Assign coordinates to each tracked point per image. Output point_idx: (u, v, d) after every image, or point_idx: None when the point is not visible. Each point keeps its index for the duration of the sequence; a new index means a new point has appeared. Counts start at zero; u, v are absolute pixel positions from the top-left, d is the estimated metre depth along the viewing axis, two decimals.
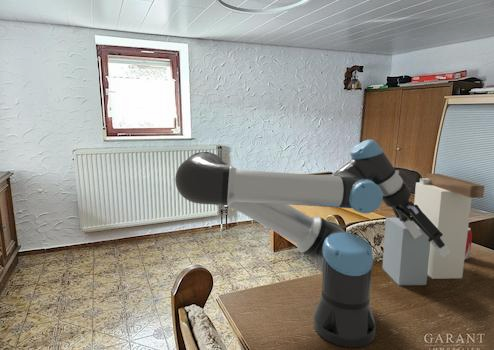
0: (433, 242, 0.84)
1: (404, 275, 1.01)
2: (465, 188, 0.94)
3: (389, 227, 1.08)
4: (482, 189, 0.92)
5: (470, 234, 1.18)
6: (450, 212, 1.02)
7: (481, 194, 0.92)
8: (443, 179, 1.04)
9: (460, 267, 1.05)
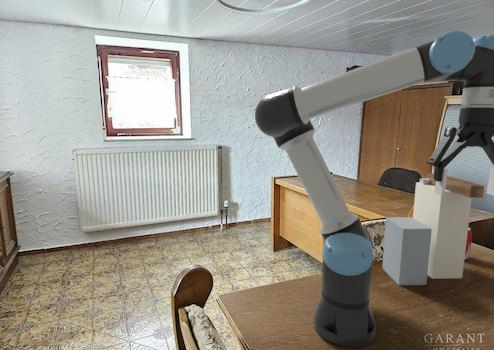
0: None
1: (404, 275, 1.01)
2: (465, 188, 0.94)
3: (389, 227, 1.08)
4: (482, 189, 0.92)
5: (470, 234, 1.18)
6: (450, 212, 1.02)
7: (481, 194, 0.92)
8: None
9: (460, 267, 1.05)
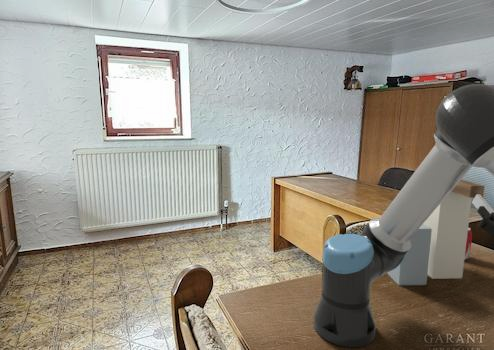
0: (489, 211, 0.72)
1: (404, 275, 1.01)
2: (465, 188, 0.94)
3: None
4: (482, 189, 0.92)
5: (470, 234, 1.18)
6: (450, 212, 1.02)
7: (481, 194, 0.92)
8: None
9: (460, 267, 1.05)
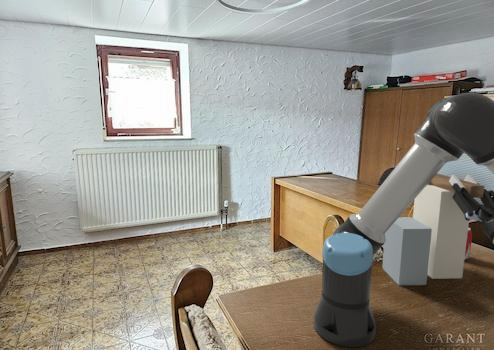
0: (460, 186, 0.95)
1: (404, 275, 1.01)
2: None
3: None
4: (482, 189, 0.92)
5: (470, 234, 1.18)
6: (450, 212, 1.02)
7: (481, 194, 0.92)
8: (443, 179, 1.04)
9: (460, 267, 1.05)
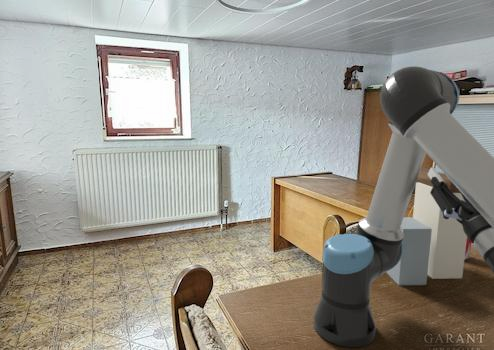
0: (439, 180, 0.84)
1: (404, 275, 1.01)
2: (445, 182, 0.83)
3: None
4: None
5: None
6: None
7: None
8: (422, 172, 0.94)
9: (460, 267, 1.05)
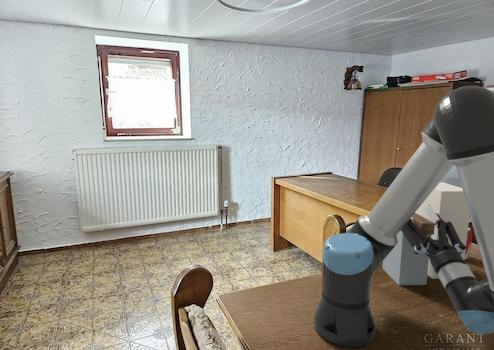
0: None
1: (404, 275, 1.01)
2: (417, 225, 0.95)
3: None
4: (432, 226, 0.93)
5: (470, 234, 1.18)
6: (450, 212, 1.02)
7: (432, 231, 0.93)
8: None
9: None
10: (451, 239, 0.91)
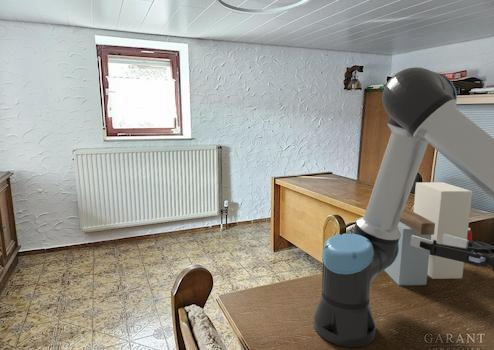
0: (429, 242, 0.79)
1: (404, 275, 1.01)
2: (417, 225, 0.95)
3: None
4: (432, 226, 0.93)
5: (470, 234, 1.18)
6: (450, 212, 1.02)
7: (432, 231, 0.93)
8: None
9: (460, 267, 1.05)
10: None
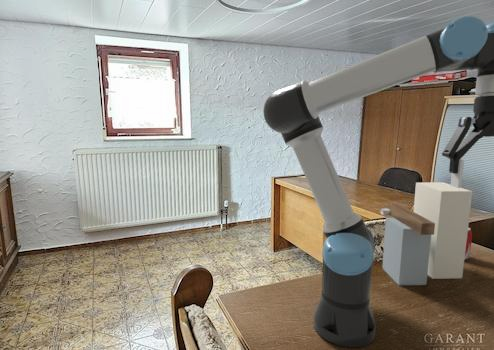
0: None
1: (404, 275, 1.01)
2: (417, 225, 0.95)
3: (389, 227, 1.08)
4: (432, 226, 0.93)
5: (470, 234, 1.18)
6: (450, 212, 1.02)
7: (432, 231, 0.93)
8: (400, 212, 1.05)
9: (460, 267, 1.05)
10: None
